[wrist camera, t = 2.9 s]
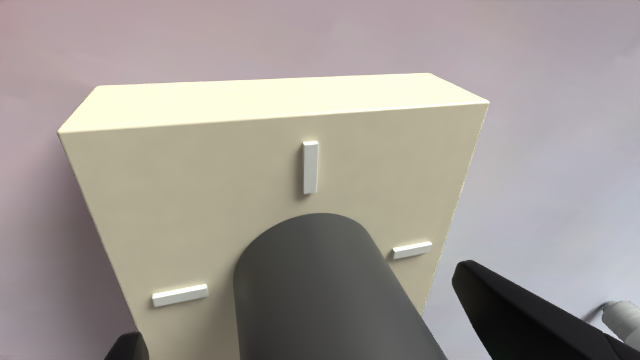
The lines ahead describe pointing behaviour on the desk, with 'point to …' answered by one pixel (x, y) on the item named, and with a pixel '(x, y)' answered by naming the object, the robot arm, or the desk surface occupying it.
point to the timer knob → (324, 297)
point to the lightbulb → (623, 321)
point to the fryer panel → (262, 183)
